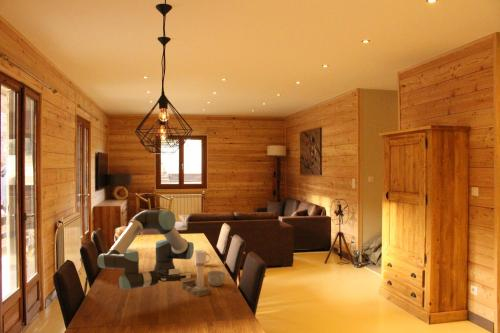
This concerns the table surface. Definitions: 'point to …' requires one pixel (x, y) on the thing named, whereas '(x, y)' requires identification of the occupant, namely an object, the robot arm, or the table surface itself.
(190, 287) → the track
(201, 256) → the mug
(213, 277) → the teacup
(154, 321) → the table surface
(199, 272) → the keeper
